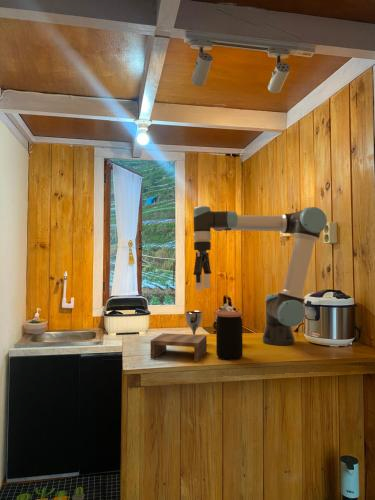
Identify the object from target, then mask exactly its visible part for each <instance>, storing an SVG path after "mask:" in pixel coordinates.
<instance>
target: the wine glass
mask: <svg viewBox="0 0 375 500" xmlns="http://www.w3.org/2000/svg"><path fill="white" fill-rule="evenodd" d="M185 321H186V325H187V326H188V327H189V329H191V331H192V335H196V331H197V330H198V329H199V327H200V325H201V324H202V321H203V311H200V310H188V311H185Z"/></svg>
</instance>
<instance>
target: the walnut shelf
mask: <svg viewBox="0 0 375 500" xmlns="http://www.w3.org/2000/svg"><path fill="white" fill-rule="evenodd" d="M207 338H208V336H207V335H205V334H195V335H193V334H187V333H185V334H184V333H169V332H168V333H167V332H165V333H161V334H159V335H158V336H156V337H153V338H152V339H150V355H149V356H150V359H154V358H156V357H158V356H159V355H161V354H162V353H163V352H165V351H166V350H167V346H172V347H190V348H191V347H192V348H194V349H193V350H194V356H193V357H194V361H195V362H199V361H201V359H202V358H203V357H204V355H205V354H206V353H207V349H208V348H207V347H208V345H207V343H208V342H207Z"/></svg>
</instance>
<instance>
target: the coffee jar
mask: <svg viewBox="0 0 375 500" xmlns="http://www.w3.org/2000/svg"><path fill="white" fill-rule="evenodd" d="M215 315H216V322H215V323H216V326H215V330H216V336H215V337H216V338H215V339H216V342H215V343H216V350H215V351H216V356H217V358H218V359H220V360H225V361H237V360H240V359H242V358H243V357H242V356H244V352H243V346H244V345H243V318H242V316H243V312H241V311H235V312H233V311H223V312H218V311H217V312H216V313H215Z"/></svg>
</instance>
